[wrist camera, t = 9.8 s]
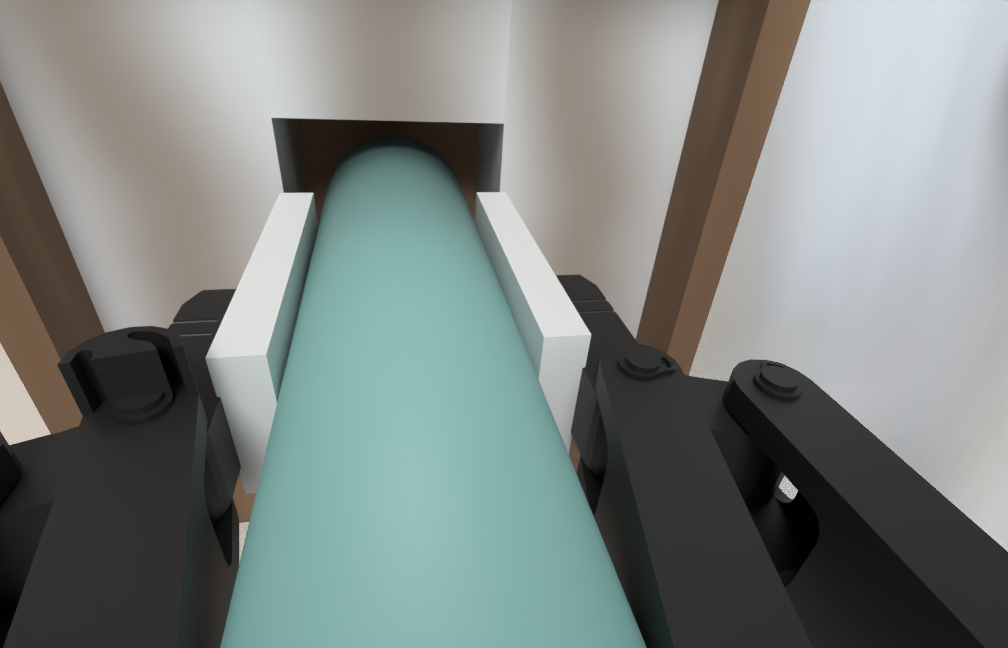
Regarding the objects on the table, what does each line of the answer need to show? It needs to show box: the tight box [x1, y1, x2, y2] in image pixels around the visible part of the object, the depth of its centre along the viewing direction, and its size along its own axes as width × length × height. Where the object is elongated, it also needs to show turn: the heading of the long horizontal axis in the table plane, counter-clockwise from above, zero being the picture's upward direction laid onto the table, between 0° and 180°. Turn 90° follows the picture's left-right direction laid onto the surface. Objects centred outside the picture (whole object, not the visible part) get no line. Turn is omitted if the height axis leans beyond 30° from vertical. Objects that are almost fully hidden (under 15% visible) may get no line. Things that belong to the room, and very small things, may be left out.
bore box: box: [0, 0, 811, 523], centre depth 16 cm, size 18×18×7 cm
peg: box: [220, 136, 647, 648], centre depth 10 cm, size 4×4×14 cm
